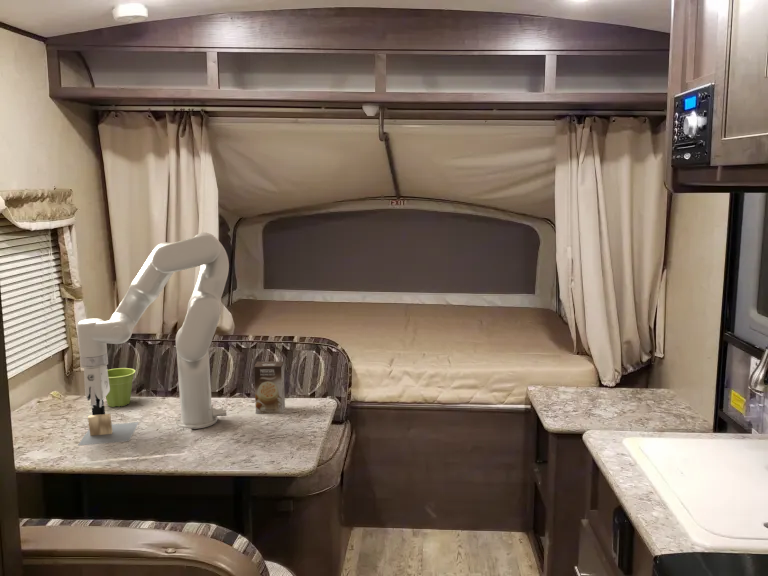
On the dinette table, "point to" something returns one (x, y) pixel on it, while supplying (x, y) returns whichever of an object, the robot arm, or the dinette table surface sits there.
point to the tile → (100, 424)
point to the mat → (119, 434)
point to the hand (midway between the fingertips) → (99, 419)
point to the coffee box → (269, 387)
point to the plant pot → (120, 386)
